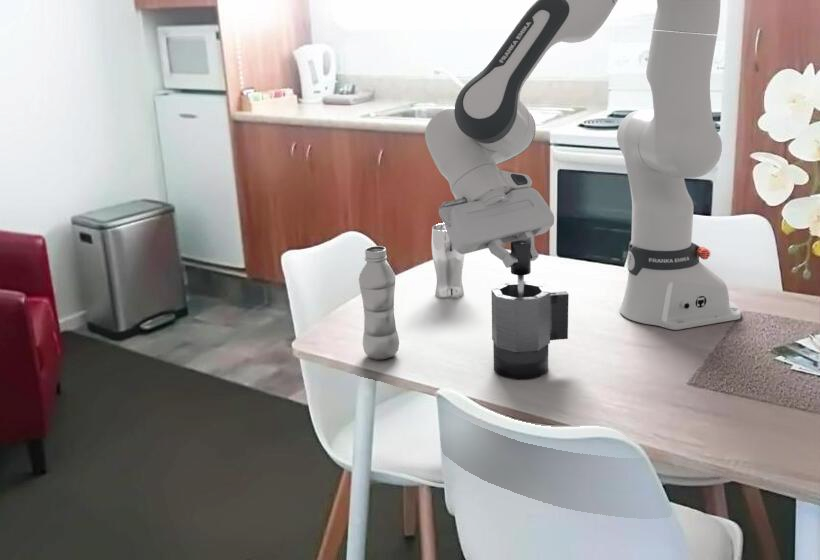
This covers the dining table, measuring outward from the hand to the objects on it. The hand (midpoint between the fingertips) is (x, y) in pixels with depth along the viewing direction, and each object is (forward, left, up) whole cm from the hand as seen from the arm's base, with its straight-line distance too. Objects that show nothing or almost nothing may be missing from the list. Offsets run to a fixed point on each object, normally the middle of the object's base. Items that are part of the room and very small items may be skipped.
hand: (523, 262), depth 139 cm
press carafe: (-1, -1, -19) cm, 19 cm away
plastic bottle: (+23, -11, -19) cm, 32 cm away
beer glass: (+6, -41, -19) cm, 45 cm away
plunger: (0, -1, -11) cm, 11 cm away
